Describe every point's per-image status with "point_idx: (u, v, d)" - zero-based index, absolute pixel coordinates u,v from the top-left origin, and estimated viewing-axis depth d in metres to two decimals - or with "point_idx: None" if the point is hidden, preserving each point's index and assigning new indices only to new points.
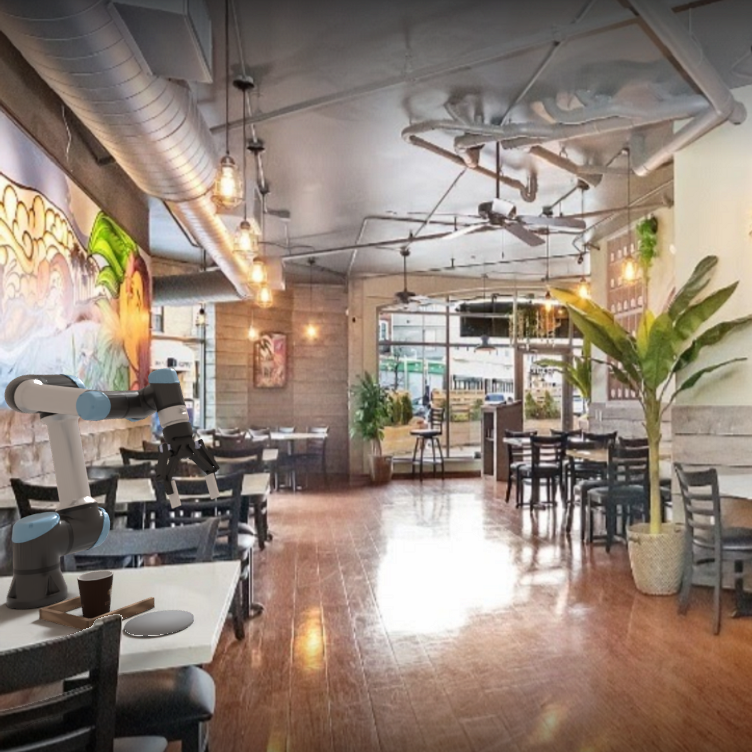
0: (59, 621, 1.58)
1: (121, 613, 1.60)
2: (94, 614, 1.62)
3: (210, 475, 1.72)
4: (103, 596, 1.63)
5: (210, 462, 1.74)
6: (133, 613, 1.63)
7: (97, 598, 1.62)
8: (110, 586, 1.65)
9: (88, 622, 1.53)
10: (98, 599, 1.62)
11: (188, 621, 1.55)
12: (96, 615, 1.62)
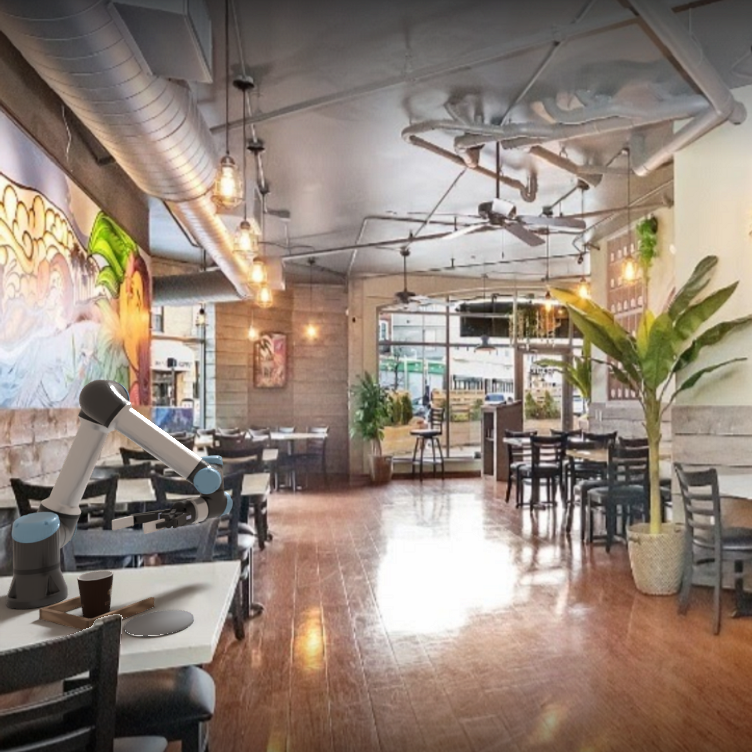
0: (59, 621, 1.58)
1: (121, 613, 1.60)
2: (94, 614, 1.62)
3: (132, 523, 1.83)
4: (103, 596, 1.63)
5: None
6: (133, 613, 1.63)
7: (97, 598, 1.62)
8: (110, 586, 1.65)
9: (88, 622, 1.53)
10: (98, 599, 1.62)
11: (188, 621, 1.55)
12: (96, 615, 1.62)
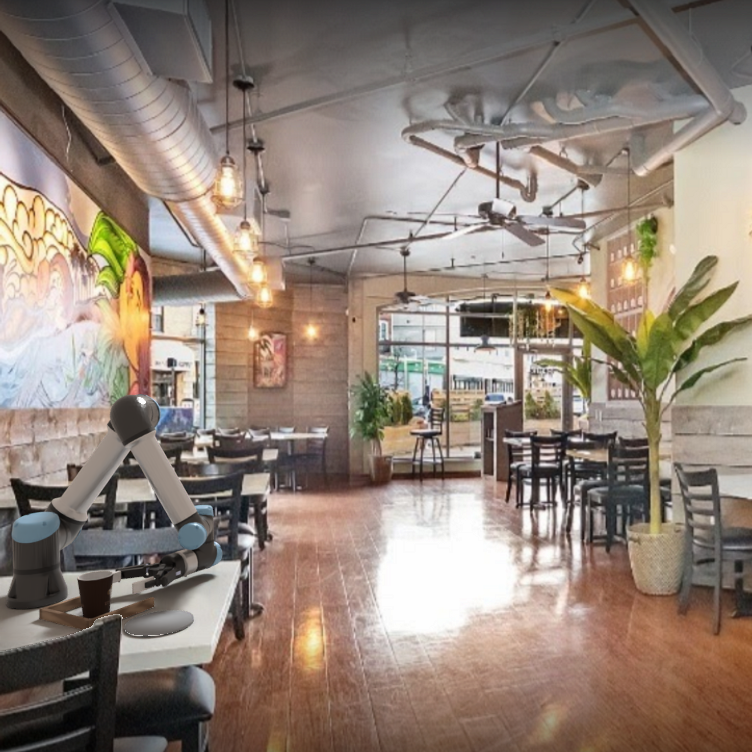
0: (59, 621, 1.58)
1: (121, 613, 1.60)
2: (94, 614, 1.62)
3: (119, 579, 1.78)
4: (103, 596, 1.63)
5: None
6: (133, 613, 1.63)
7: (97, 598, 1.62)
8: (110, 586, 1.65)
9: (88, 622, 1.53)
10: (98, 599, 1.62)
11: (188, 621, 1.55)
12: (96, 615, 1.62)
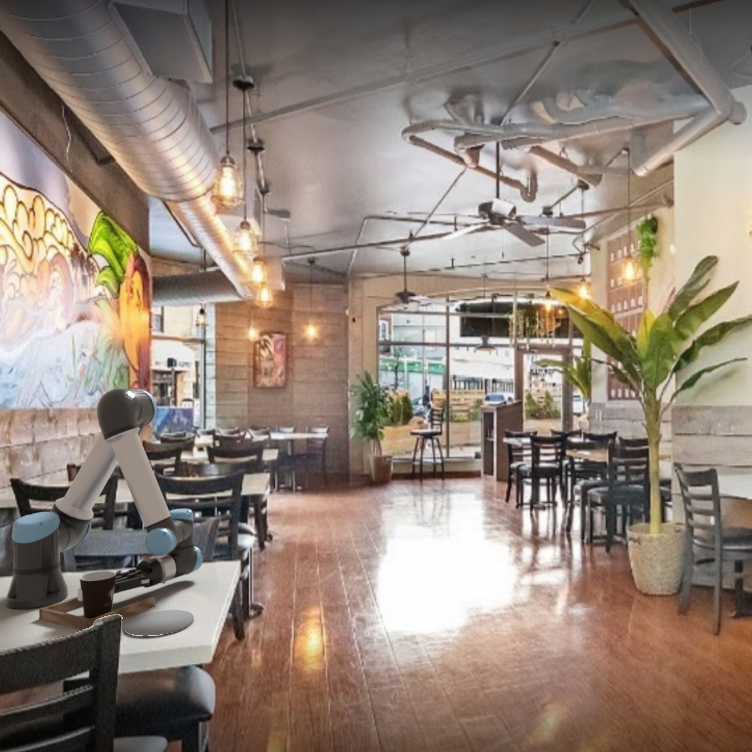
0: (59, 621, 1.58)
1: (121, 613, 1.60)
2: (94, 615, 1.61)
3: None
4: (103, 597, 1.61)
5: None
6: (133, 613, 1.63)
7: (97, 599, 1.61)
8: (111, 588, 1.63)
9: (88, 622, 1.53)
10: (98, 600, 1.61)
11: (188, 621, 1.55)
12: (95, 616, 1.61)
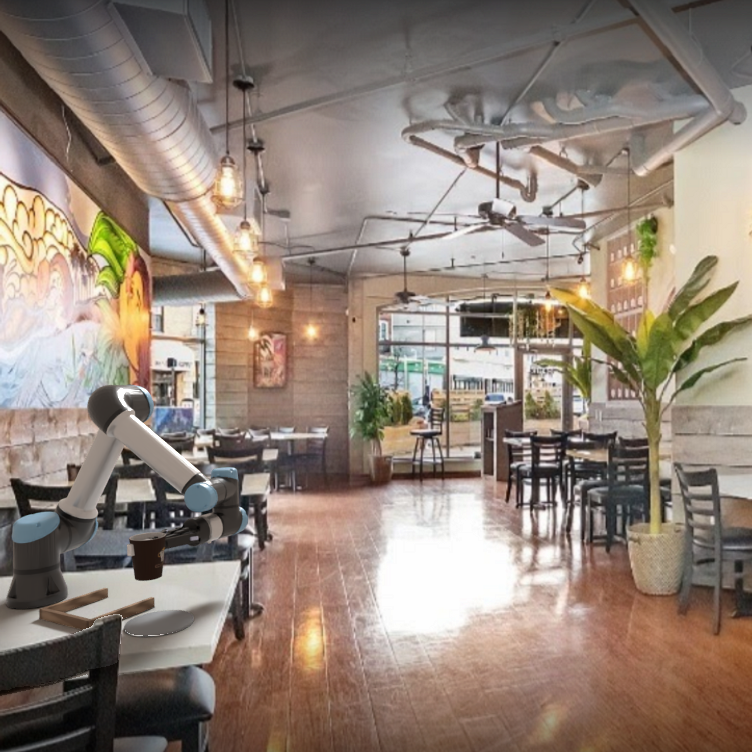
0: (59, 621, 1.58)
1: (121, 613, 1.60)
2: (144, 576, 1.54)
3: None
4: (153, 558, 1.55)
5: None
6: (133, 613, 1.63)
7: (146, 560, 1.54)
8: (161, 549, 1.57)
9: (88, 622, 1.53)
10: (148, 561, 1.54)
11: (188, 621, 1.55)
12: (146, 578, 1.55)
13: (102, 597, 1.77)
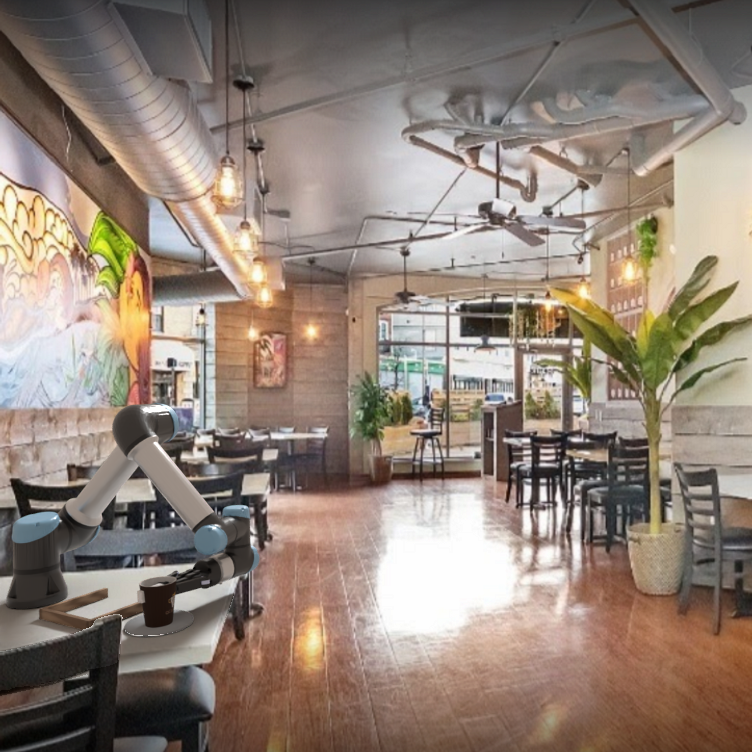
0: (59, 621, 1.58)
1: (121, 613, 1.60)
2: (154, 623, 1.51)
3: None
4: (163, 604, 1.52)
5: None
6: (133, 613, 1.63)
7: (157, 606, 1.51)
8: (172, 594, 1.54)
9: (88, 622, 1.53)
10: (158, 608, 1.51)
11: (188, 621, 1.55)
12: (156, 624, 1.51)
13: (102, 597, 1.77)
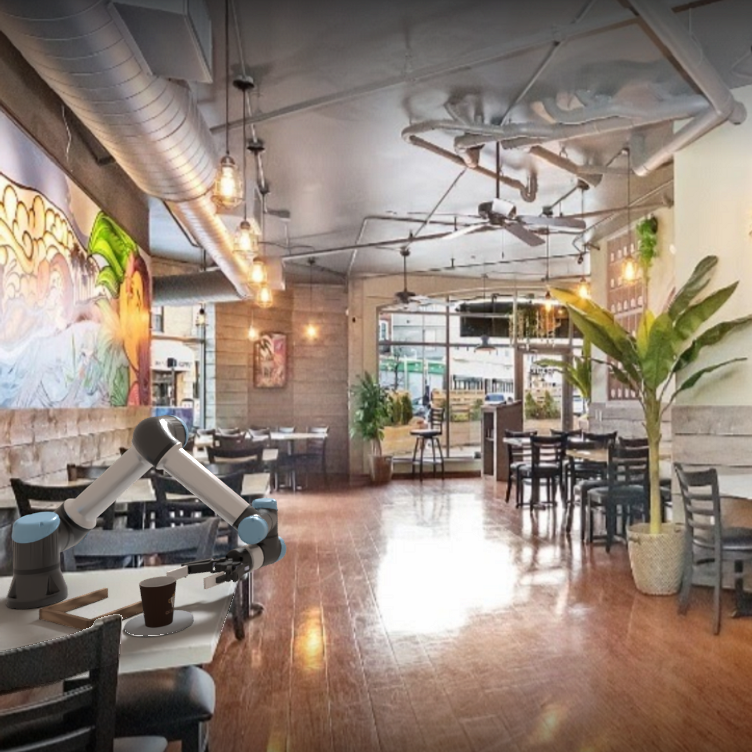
0: (59, 621, 1.58)
1: (121, 613, 1.60)
2: (154, 623, 1.51)
3: (186, 574, 1.72)
4: (163, 604, 1.52)
5: None
6: (133, 613, 1.63)
7: (157, 606, 1.51)
8: (172, 594, 1.54)
9: (88, 622, 1.53)
10: (158, 608, 1.51)
11: (188, 621, 1.55)
12: (156, 624, 1.51)
13: (102, 597, 1.77)
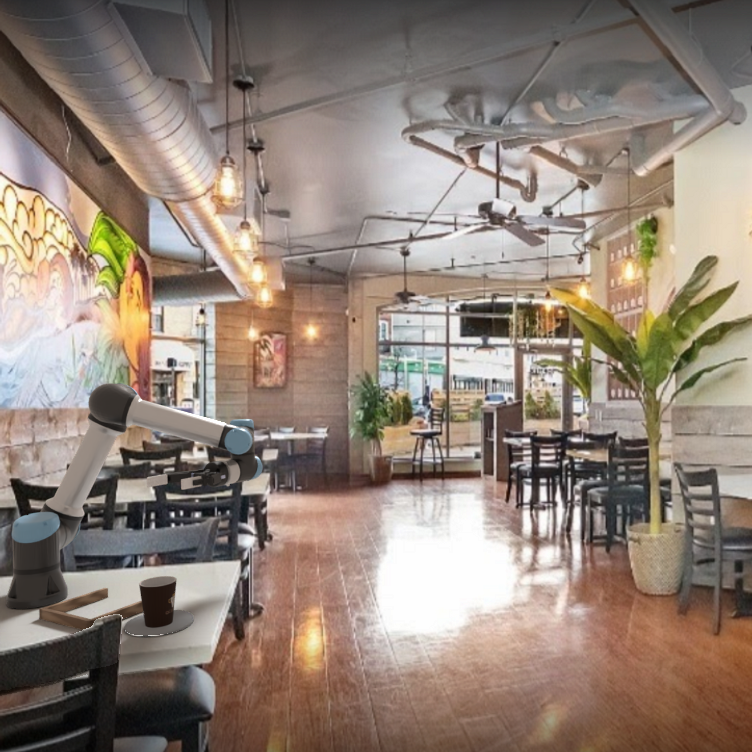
0: (59, 621, 1.58)
1: (121, 613, 1.60)
2: (154, 623, 1.51)
3: (166, 482, 1.82)
4: (163, 604, 1.52)
5: None
6: (133, 613, 1.63)
7: (157, 606, 1.51)
8: (172, 594, 1.54)
9: (88, 622, 1.53)
10: (158, 608, 1.51)
11: (188, 621, 1.55)
12: (156, 624, 1.51)
13: (102, 597, 1.77)
